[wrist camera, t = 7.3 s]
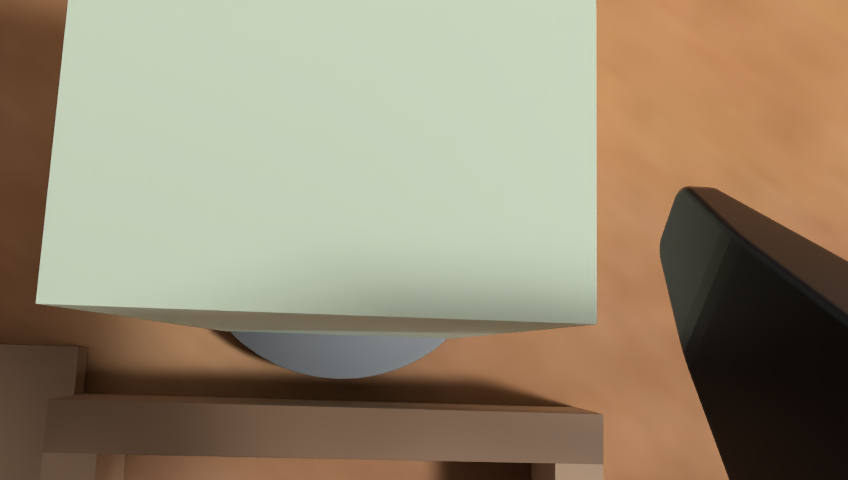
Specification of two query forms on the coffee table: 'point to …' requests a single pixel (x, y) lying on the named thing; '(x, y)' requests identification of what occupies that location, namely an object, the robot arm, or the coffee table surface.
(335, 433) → the wooden double frame
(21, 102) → the coffee table surface
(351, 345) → the slate coaster
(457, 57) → the block
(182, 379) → the coffee table surface
